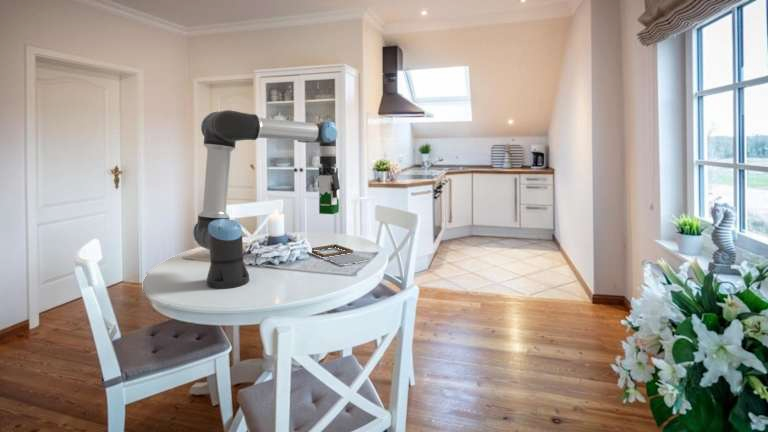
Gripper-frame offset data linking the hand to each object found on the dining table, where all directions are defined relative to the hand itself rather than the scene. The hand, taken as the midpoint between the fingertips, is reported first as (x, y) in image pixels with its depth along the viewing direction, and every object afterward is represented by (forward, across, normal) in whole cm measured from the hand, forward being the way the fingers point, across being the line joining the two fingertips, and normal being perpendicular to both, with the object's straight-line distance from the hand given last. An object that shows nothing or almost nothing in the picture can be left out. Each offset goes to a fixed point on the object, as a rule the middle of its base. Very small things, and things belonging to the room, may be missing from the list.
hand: (328, 203), depth 208 cm
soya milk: (+5, 0, 0) cm, 5 cm away
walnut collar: (+24, 0, 0) cm, 24 cm away
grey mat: (+24, -17, +1) cm, 30 cm away
